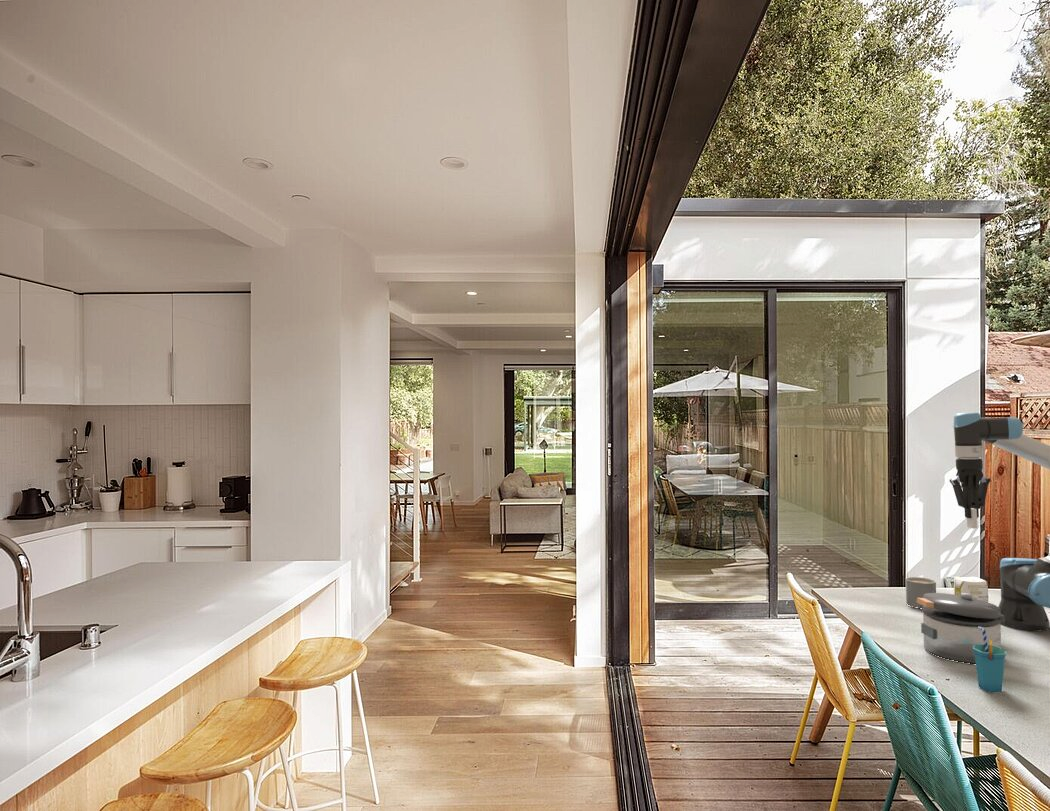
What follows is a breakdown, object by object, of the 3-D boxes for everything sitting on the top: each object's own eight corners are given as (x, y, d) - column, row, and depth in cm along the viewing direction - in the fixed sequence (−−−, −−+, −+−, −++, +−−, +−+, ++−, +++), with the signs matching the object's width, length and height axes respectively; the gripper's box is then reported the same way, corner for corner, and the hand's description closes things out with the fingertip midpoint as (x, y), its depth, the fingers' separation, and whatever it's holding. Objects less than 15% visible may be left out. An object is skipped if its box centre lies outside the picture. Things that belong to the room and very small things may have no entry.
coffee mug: (937, 611, 243) (936, 584, 243) (906, 607, 248) (905, 581, 248) (935, 602, 255) (934, 576, 255) (906, 598, 260) (905, 574, 260)
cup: (964, 675, 184) (963, 623, 184) (997, 679, 181) (995, 625, 181) (980, 696, 171) (979, 639, 171) (1015, 700, 168) (1014, 642, 168)
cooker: (976, 641, 211) (975, 603, 211) (1024, 665, 190) (1022, 623, 190) (908, 642, 211) (907, 603, 211) (949, 666, 190) (947, 624, 191)
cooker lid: (971, 601, 211) (971, 590, 211) (1016, 620, 191) (1017, 609, 191) (902, 596, 211) (903, 585, 211) (941, 615, 191) (942, 603, 191)
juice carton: (992, 639, 212) (991, 581, 213) (965, 639, 213) (964, 581, 213) (977, 631, 220) (976, 575, 220) (951, 631, 220) (950, 576, 221)
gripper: (957, 459, 215) (961, 530, 214) (995, 458, 215) (999, 528, 215) (942, 458, 222) (946, 526, 222) (979, 456, 223) (982, 525, 222)
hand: (972, 527), depth 218 cm, fingers closed
